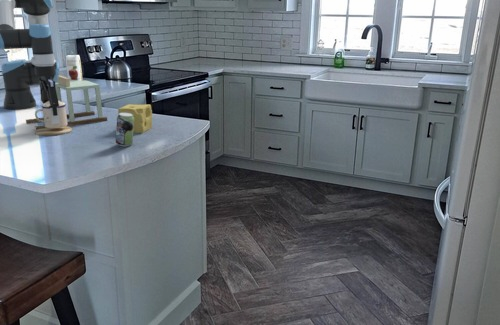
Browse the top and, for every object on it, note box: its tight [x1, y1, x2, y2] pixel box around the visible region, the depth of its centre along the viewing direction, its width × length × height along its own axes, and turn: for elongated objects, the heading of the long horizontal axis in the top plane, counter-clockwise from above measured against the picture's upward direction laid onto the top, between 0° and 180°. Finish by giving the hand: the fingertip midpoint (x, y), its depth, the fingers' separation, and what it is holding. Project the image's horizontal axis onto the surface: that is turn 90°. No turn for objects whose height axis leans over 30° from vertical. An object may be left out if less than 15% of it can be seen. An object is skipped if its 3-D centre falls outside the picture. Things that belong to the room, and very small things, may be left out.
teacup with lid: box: [34, 101, 68, 128], centre depth 193 cm, size 12×9×12 cm
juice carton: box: [65, 54, 84, 82], centre depth 316 cm, size 8×9×19 cm
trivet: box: [34, 126, 73, 137], centre depth 195 cm, size 14×14×1 cm
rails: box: [25, 110, 108, 131], centre depth 212 cm, size 18×30×2 cm, turn 127°
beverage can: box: [115, 113, 134, 147], centre depth 173 cm, size 6×7×12 cm
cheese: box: [117, 103, 153, 134], centre depth 196 cm, size 10×11×10 cm
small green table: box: [55, 75, 104, 122], centre depth 212 cm, size 17×14×18 cm
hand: (52, 121), depth 194 cm, fingers closed on teacup with lid, 9 cm apart
